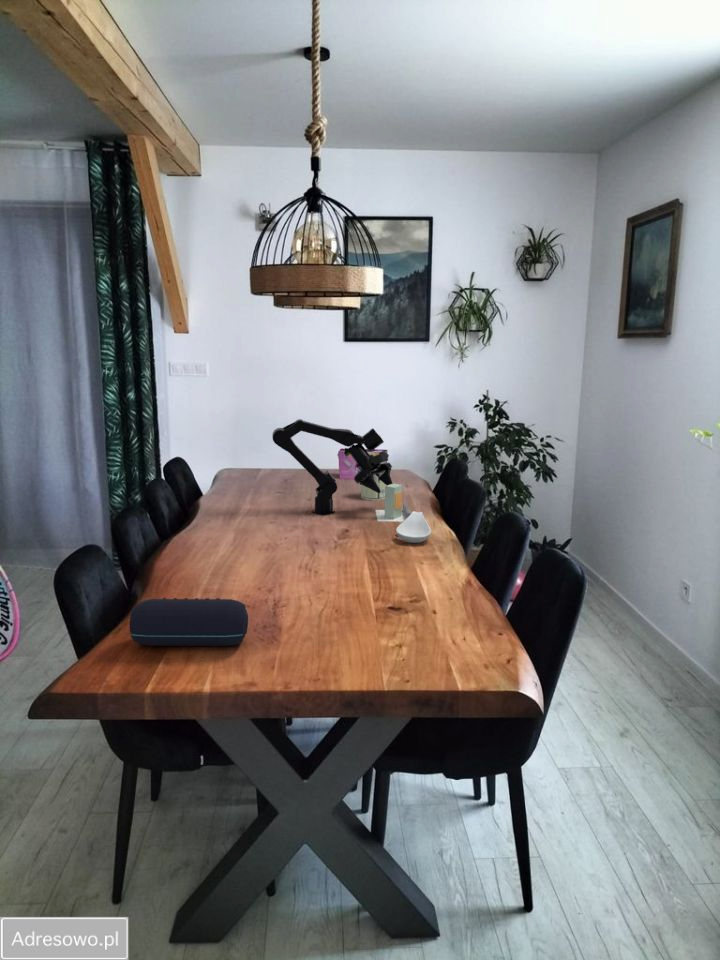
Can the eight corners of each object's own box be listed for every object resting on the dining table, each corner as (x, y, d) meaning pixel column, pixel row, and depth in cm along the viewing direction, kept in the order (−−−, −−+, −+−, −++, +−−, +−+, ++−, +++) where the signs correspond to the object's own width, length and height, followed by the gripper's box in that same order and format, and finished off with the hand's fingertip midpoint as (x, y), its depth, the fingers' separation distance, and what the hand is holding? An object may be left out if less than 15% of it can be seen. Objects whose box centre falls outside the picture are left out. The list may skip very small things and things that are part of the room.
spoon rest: (429, 547, 216) (430, 526, 215) (393, 545, 218) (394, 524, 216) (433, 527, 239) (434, 508, 238) (400, 525, 241) (401, 506, 239)
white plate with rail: (411, 523, 243) (411, 513, 242) (377, 523, 242) (377, 513, 241) (406, 512, 258) (407, 502, 257) (375, 511, 258) (375, 502, 257)
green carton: (394, 519, 245) (395, 487, 242) (384, 517, 247) (385, 486, 244) (401, 516, 249) (402, 485, 247) (392, 514, 251) (393, 483, 249)
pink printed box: (336, 479, 316) (336, 450, 313) (337, 475, 324) (337, 448, 321) (386, 480, 315) (387, 452, 313) (386, 476, 323) (387, 449, 320)
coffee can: (361, 494, 286) (362, 462, 283) (385, 495, 285) (386, 463, 282) (359, 500, 276) (360, 466, 273) (384, 501, 275) (385, 467, 272)
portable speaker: (251, 633, 151) (251, 592, 149) (246, 654, 141) (245, 610, 139) (140, 633, 150) (137, 591, 148) (126, 654, 140) (123, 609, 138)
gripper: (361, 447, 240) (387, 481, 236) (388, 441, 255) (412, 473, 251) (343, 466, 246) (368, 500, 242) (370, 459, 261) (394, 490, 257)
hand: (386, 490), depth 248 cm, fingers open, 9 cm apart
